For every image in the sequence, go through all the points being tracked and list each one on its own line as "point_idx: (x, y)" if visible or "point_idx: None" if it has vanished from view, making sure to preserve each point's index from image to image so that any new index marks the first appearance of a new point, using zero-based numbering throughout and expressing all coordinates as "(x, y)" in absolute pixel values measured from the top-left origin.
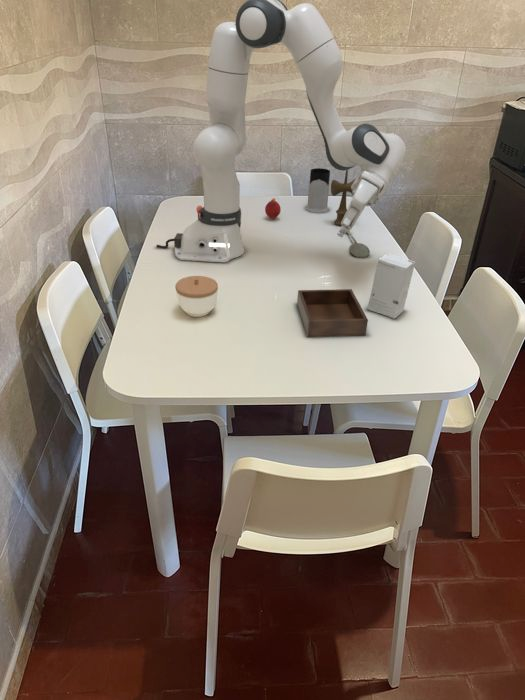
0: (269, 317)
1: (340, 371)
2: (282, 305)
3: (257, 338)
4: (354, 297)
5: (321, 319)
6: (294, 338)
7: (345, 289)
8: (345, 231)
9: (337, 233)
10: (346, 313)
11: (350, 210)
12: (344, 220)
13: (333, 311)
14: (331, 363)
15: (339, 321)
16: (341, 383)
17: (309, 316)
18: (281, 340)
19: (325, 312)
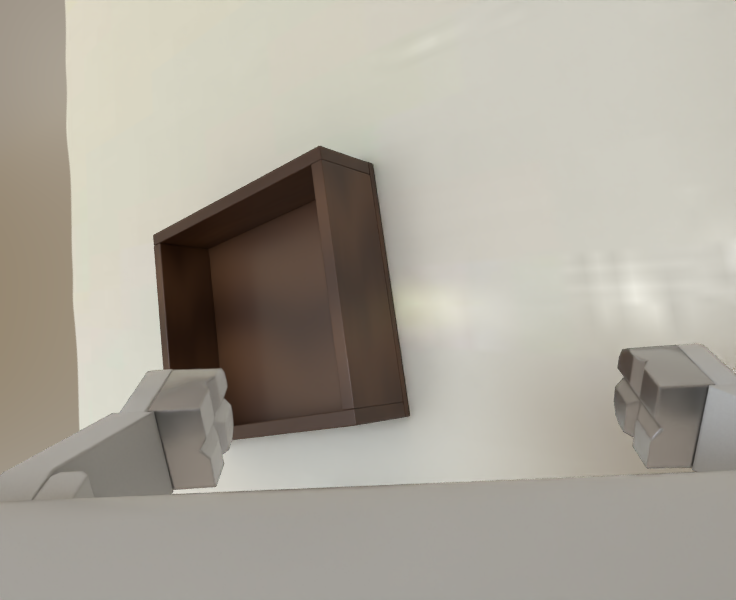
0: (284, 83)
1: (115, 340)
2: (362, 101)
3: (193, 93)
4: (287, 425)
5: (276, 281)
6: (199, 202)
7: (349, 390)
8: (646, 462)
9: (676, 345)
10: (318, 386)
11: (8, 489)
12: (143, 388)
13: (326, 330)
14: (132, 318)
15: (163, 341)
16: (91, 340)
17: (172, 232)
18: (190, 166)
19: (318, 295)
